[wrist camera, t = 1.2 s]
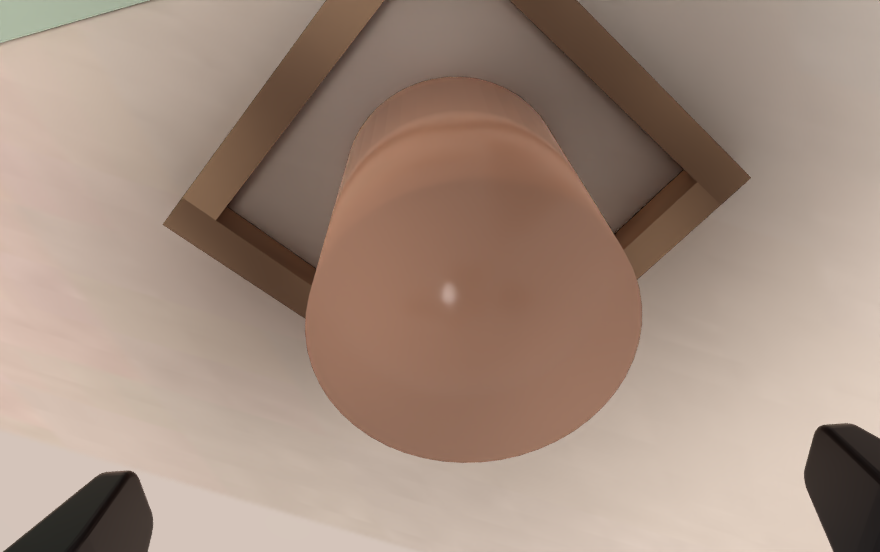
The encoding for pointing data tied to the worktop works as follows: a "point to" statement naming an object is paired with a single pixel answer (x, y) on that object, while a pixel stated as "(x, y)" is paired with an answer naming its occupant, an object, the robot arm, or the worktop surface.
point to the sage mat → (50, 14)
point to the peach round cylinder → (468, 281)
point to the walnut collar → (323, 45)
